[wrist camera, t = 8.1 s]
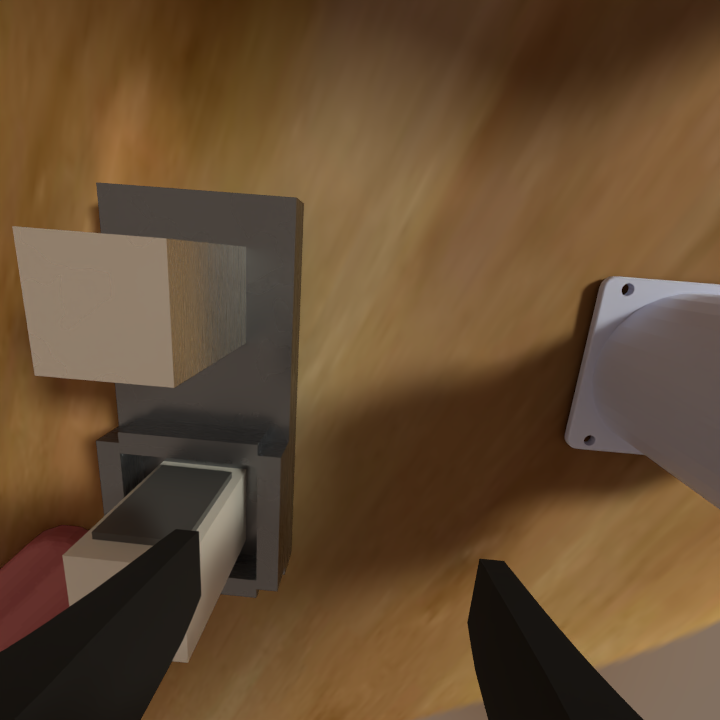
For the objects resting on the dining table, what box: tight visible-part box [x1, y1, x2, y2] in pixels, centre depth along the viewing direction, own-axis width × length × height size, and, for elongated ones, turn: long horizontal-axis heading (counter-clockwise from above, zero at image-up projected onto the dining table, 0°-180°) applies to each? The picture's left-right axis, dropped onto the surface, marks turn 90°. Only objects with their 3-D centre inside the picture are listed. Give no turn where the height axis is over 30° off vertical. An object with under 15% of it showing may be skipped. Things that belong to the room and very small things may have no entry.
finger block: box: [62, 461, 246, 663], centre depth 16 cm, size 4×4×6 cm
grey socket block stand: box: [12, 183, 304, 598], centre depth 15 cm, size 8×18×8 cm, turn 176°
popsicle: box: [0, 525, 89, 652], centre depth 22 cm, size 5×2×15 cm
